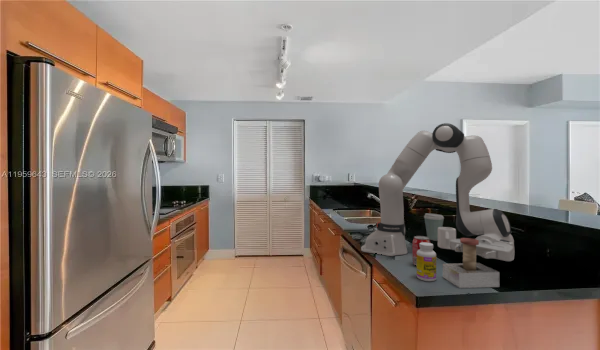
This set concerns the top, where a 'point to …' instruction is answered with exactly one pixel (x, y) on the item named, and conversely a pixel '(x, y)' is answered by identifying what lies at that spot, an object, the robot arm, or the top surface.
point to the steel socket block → (471, 276)
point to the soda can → (416, 246)
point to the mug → (445, 236)
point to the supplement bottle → (426, 262)
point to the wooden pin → (469, 253)
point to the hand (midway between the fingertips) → (470, 252)
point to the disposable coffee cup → (433, 225)
